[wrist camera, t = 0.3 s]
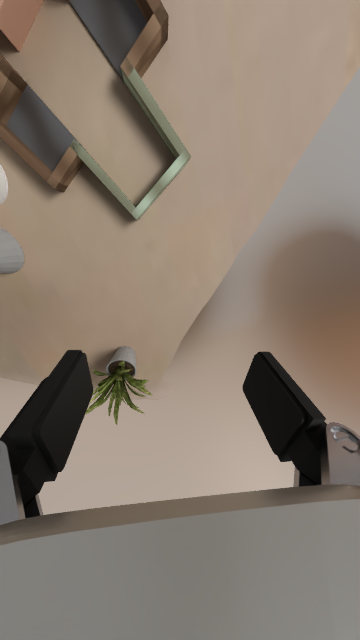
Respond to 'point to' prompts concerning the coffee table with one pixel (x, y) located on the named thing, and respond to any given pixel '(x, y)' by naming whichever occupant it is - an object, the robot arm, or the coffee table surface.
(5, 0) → the terracotta block
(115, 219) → the coffee table surface
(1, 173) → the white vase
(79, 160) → the box
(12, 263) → the lava lamp
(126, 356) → the house plant
